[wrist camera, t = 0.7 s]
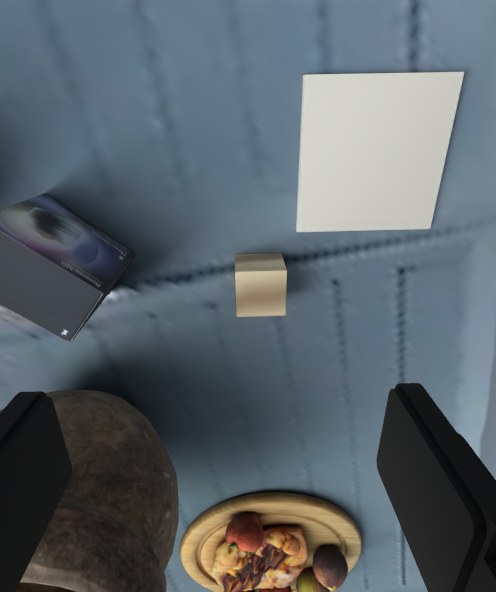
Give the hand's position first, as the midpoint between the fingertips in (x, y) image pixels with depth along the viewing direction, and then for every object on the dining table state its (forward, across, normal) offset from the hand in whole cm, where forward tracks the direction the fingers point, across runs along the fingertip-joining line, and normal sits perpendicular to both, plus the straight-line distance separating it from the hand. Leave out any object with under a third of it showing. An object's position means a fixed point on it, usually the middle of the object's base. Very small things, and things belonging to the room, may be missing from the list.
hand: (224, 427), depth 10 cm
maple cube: (+30, -2, +7) cm, 31 cm away
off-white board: (+29, -13, -6) cm, 32 cm away
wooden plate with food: (+33, -5, +59) cm, 68 cm away
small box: (+30, +17, +3) cm, 34 cm away
